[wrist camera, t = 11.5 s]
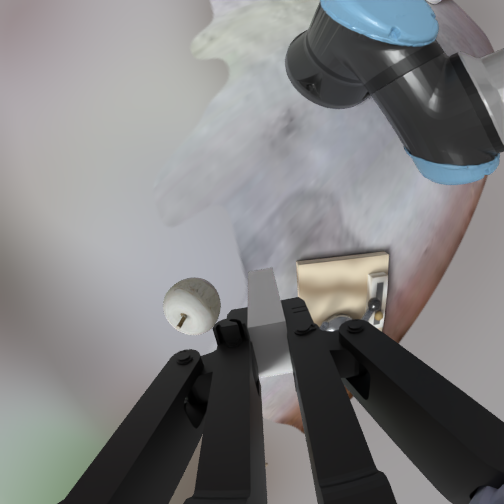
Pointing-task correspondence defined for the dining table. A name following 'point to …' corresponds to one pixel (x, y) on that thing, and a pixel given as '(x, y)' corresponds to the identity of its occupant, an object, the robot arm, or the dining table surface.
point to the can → (433, 1)
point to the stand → (344, 286)
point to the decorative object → (192, 306)
